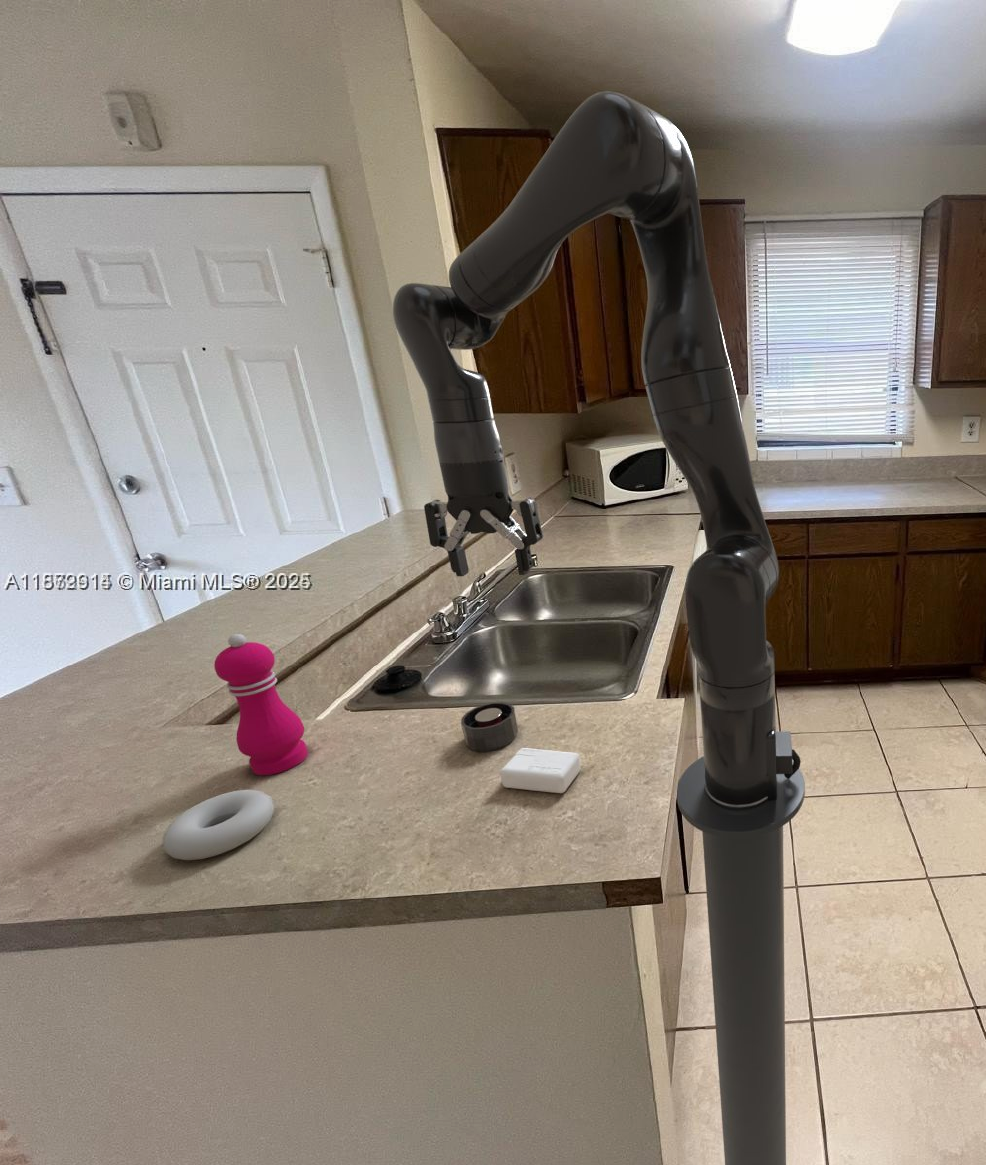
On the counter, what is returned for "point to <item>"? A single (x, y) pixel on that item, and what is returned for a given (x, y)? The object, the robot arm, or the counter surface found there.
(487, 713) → the pod
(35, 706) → the counter surface
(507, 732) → the bowl
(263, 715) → the pepper mill
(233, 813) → the donut
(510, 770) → the soap
